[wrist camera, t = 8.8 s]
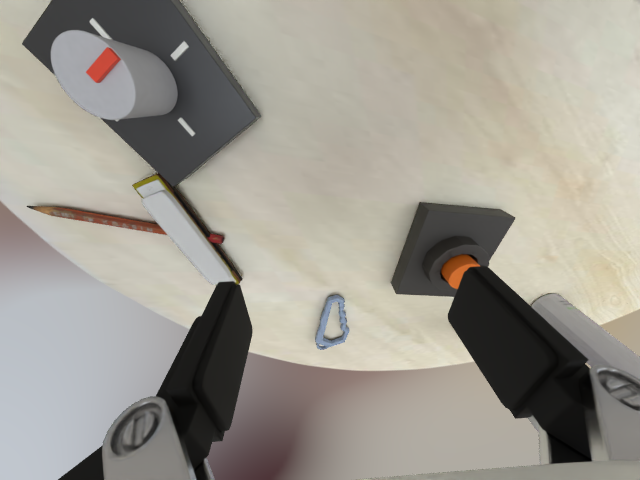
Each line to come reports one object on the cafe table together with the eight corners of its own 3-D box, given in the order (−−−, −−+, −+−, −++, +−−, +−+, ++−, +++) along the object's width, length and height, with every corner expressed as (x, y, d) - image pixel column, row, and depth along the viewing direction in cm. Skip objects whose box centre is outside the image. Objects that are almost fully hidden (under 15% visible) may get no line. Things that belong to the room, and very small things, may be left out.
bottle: (559, 306, 36) (785, 490, 19) (530, 316, 37) (721, 500, 20) (561, 289, 34) (817, 478, 17) (530, 299, 35) (743, 489, 18)
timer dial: (154, 126, 18) (104, 134, 14) (105, 74, 16) (27, 64, 12) (189, 93, 17) (147, 91, 13) (141, 33, 15) (71, 6, 11)
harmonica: (243, 276, 29) (239, 287, 28) (222, 283, 30) (217, 294, 28) (165, 169, 22) (153, 175, 20) (139, 181, 22) (125, 187, 21)
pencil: (224, 234, 26) (222, 238, 25) (224, 241, 27) (222, 246, 26) (29, 199, 23) (19, 203, 22) (33, 209, 24) (23, 213, 23)
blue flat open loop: (359, 293, 33) (325, 292, 32) (360, 298, 32) (326, 297, 31) (341, 343, 39) (313, 344, 38) (343, 348, 38) (313, 350, 37)
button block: (419, 202, 25) (437, 217, 22) (501, 209, 26) (530, 225, 23) (390, 282, 32) (400, 304, 28) (457, 286, 33) (475, 307, 29)
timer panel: (55, 50, 17) (18, 43, 15) (138, -59, 15) (107, -87, 13) (185, 179, 23) (172, 187, 21) (261, 116, 20) (256, 118, 18)
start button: (448, 253, 25) (457, 262, 23) (479, 255, 25) (489, 264, 24) (436, 278, 27) (443, 288, 25) (464, 279, 27) (473, 290, 26)
